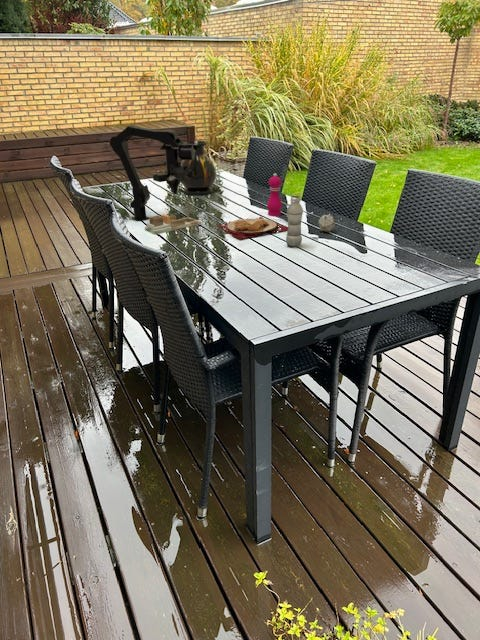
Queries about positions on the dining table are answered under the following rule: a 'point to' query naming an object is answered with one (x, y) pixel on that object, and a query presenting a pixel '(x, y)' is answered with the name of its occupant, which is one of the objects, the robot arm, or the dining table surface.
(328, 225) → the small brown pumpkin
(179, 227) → the deck
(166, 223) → the sled
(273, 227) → the plate with food
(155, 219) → the block
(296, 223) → the plastic bottle
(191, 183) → the amphora vase
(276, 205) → the pepper mill
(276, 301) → the dining table surface
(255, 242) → the dining table surface
